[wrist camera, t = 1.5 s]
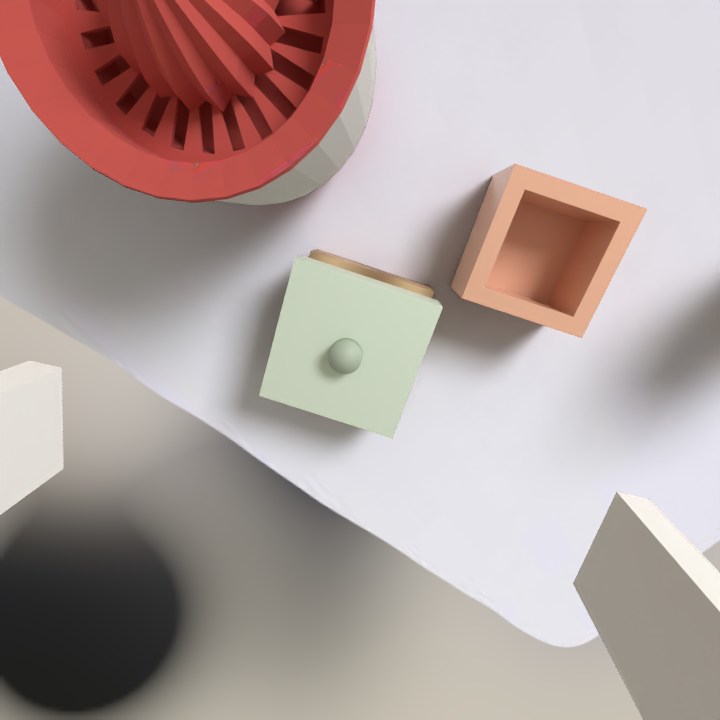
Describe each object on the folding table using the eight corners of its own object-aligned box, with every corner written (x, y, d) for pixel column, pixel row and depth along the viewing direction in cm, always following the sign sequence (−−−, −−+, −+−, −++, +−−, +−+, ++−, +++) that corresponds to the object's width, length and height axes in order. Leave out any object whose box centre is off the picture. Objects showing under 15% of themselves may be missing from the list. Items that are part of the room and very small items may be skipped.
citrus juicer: (442, 123, 31) (525, -41, 12) (261, 252, 35) (109, 280, 16) (326, -96, 28) (188, -796, 9) (139, 74, 32) (-239, -159, 13)
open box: (449, 286, 35) (461, 298, 29) (492, 175, 32) (515, 163, 26) (550, 320, 35) (581, 338, 29) (601, 212, 32) (647, 208, 27)
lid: (269, 382, 35) (254, 402, 31) (303, 255, 32) (290, 259, 28) (392, 421, 36) (392, 445, 32) (438, 300, 32) (445, 310, 28)
